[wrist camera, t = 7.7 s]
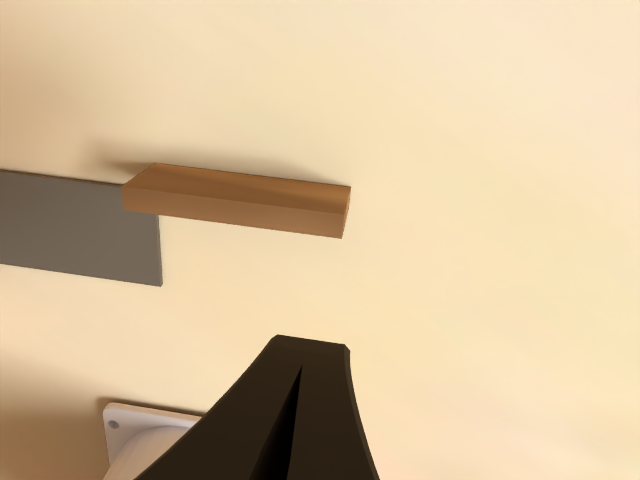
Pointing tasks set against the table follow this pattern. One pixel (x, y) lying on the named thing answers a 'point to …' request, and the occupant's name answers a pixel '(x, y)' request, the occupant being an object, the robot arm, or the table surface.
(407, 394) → the table surface
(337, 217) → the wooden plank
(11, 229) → the mats
